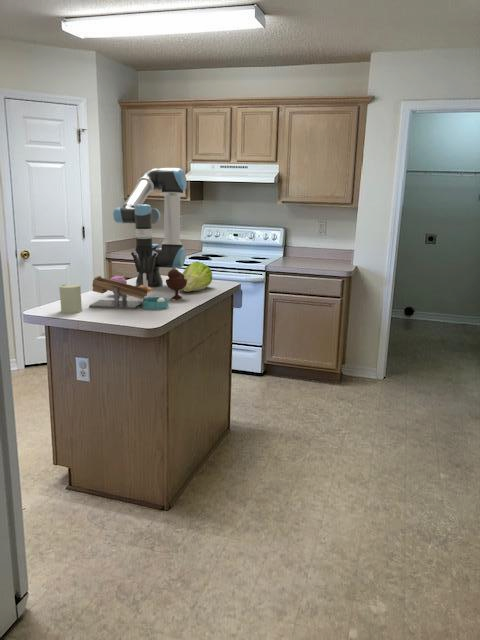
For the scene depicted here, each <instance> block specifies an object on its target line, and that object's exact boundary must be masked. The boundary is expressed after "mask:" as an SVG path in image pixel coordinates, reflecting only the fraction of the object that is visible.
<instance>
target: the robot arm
mask: <svg viewBox="0 0 480 640" xmlns="http://www.w3.org/2000/svg"><path fill="white" fill-rule="evenodd" d="M187 185H188V181H187V176H186V174H185V171H184V170H183V168H179V167H155V168H151V169H149V170H147V171H145V172H144V173H142V174H141V175H140V176H139V178H138V179H137V181H136V186H135V187H134V189H133V190H132V192H131V193H130V195H129V196H128V197H127V199H126V200H125V203H124V204H123V205H122V207H121V206H119V207H115V208H114V209H113V214H112V215H113V220H114V222H115V223H118V224H134V225H135V237H136V238H135V249H134V251H132V252H131V253H130V256H132V257H133V263H134V265H135V269H136V272H137V277H136V280H135V286H136V287H139V286H141V285H143V287H151V288H159V287H162V286H163V285H164V282H163V277H162V276H161V272H160V268H161V269H163V268H164V269H166V268H167V269H181V268H182V267H183V266H184V265H185V262H186V257H187V250H186V248H185V247H183V243H182V242H181V196H183V195H184V191H185V190H187ZM154 191H161V195H163V197H164V209H163V210H164V212H163V213H164V218H163V219H164V226H163V227H164V234H163V235H164V237H163V238H164V239H163V241H162V243H161V246H160V245H159V243H153V238H152V237H153V231H152V228H153V227H152V225H155V224H157V223H158V222H159V221H160V220H161V216H162V215H161V212H160V210H158V209H157V208H156V207H151V206H152V205H150V204H144V202H145V201H146V199H147V197H148V196H149V194H152V192H154Z"/></svg>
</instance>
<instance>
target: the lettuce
mask: <svg viewBox="0 0 480 640" xmlns="http://www.w3.org/2000/svg"><path fill="white" fill-rule="evenodd" d="M182 274H183V275H184V279H187V284H186V286H185V287H184V288H183V289H182V290H183V291H185V292H192V291H193V292H195V291H203V290H205V289H206V288H208V286H210V284H211V283H212V281H213V273H212V270H211V267H209V266H208V265H206V264H205V263H204V262H200V261H198V260H197V261H195V262H192V263H190V264H188V266H186V267H185V269H184V270H183V272H182Z"/></svg>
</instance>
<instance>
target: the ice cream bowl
mask: <svg viewBox="0 0 480 640" xmlns="http://www.w3.org/2000/svg"><path fill="white" fill-rule="evenodd" d="M167 277H168V278H166V279H165V283H166V286H167V287H168V289H171V290H172V291H174V295H173V296H172V297H171V299H172V300H173V299H176V301H177V300H178V299H180V300H182V299H183V297H182V296H181V295H179V292H180V291H181V290H183V288H184V287H185V286H186V284H187V279H184V275H183V272H180V271H179V270H178V269H177V268H171V269H170V270H169V271H168V273H167Z"/></svg>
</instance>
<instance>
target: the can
mask: <svg viewBox="0 0 480 640" xmlns="http://www.w3.org/2000/svg"><path fill="white" fill-rule="evenodd" d="M58 288H59V289H58V290H59V299H60V300H59V301H60V313H63V314H76V313H80V312H82V311H83V306H82V305H83V304H82V292H81V291H82V290H81V284H78V283H65V284H60V285H59V286H58Z"/></svg>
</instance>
